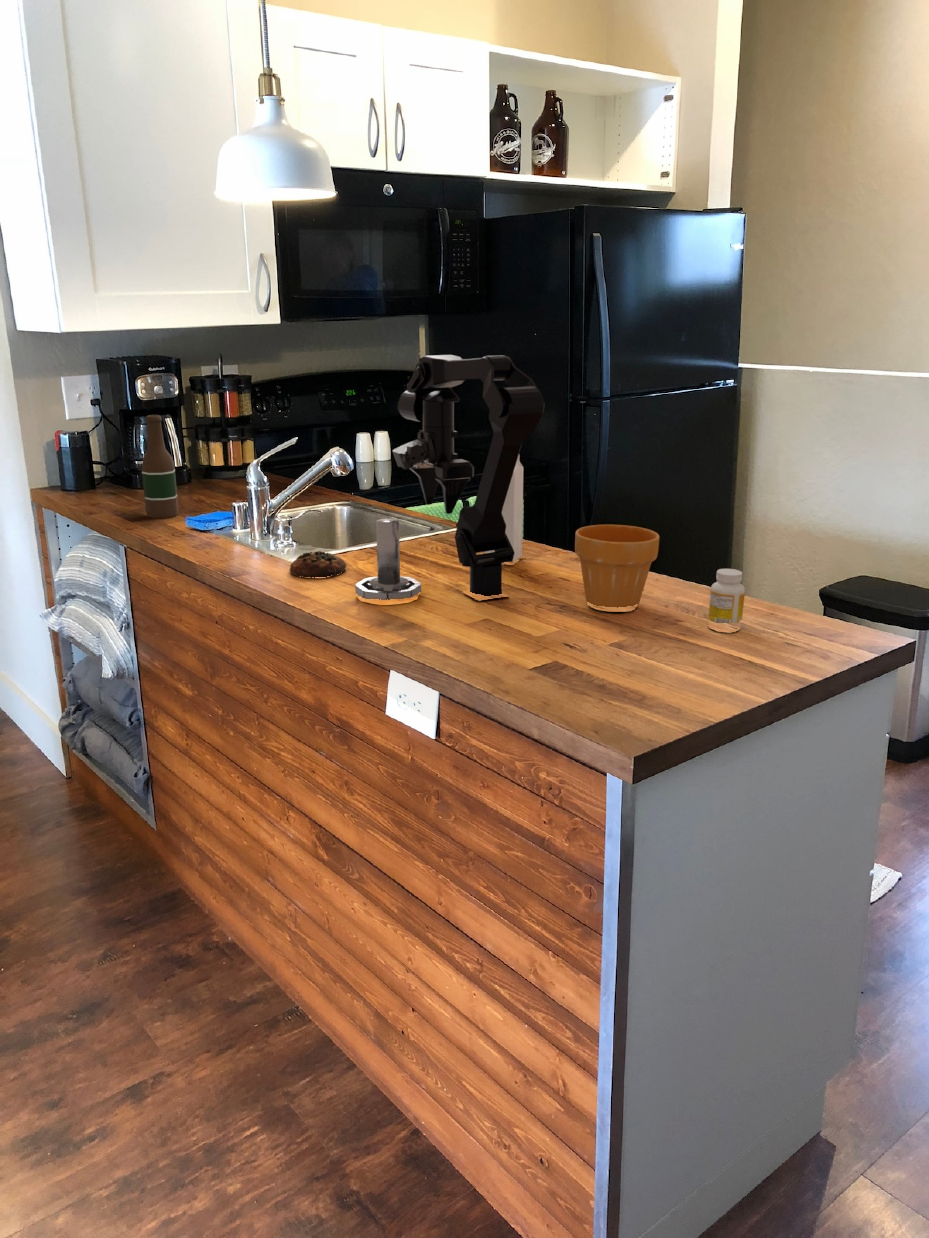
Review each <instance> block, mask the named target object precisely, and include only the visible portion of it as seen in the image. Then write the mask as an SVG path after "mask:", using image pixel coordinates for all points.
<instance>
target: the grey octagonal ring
mask: <svg viewBox="0 0 929 1238" xmlns="http://www.w3.org/2000/svg"><path fill="white" fill-rule="evenodd" d="M377 577H378V576H372V577H371V576H370V577H365V578H363V579H362V580H360V581H358V582H357V583H355V585H354V590H355V591H354V592H355V594H356V595H357V594H358V596H361V597H362V598H365V599H379V600H380V599H381V600H387V599H388V600H390V599H404V598H411V597H413V596H415V595H417V594H418V593H419V592H421V593H422V582H419V581H418V580H416V579H415V578H414V577H411V576H403V575H400V577H403V578H406V579H409V580H411V587H410V588H409V589H406V590H398V591H390V592H384V591H375V590H368V589H367V583H368V580H370V579H373V578H377Z"/></svg>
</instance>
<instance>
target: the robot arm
mask: <svg viewBox="0 0 929 1238" xmlns="http://www.w3.org/2000/svg"><path fill="white" fill-rule="evenodd" d="M479 380H480V381H481V382H482V384H483V386H482V387H483V390H482V398H483V400H484V402H485V404H486V406H487V407H488V409H489V411H488V420H489V422H490V425H491V428H492V432H493V435H492V438H491V442H490V446H489V449H488V453H487V458H486V461H485V465H484V469H483V471H482V476H481V479H480V482H479V487H478V490H477V494H476V497H475V501H474V503H473V505H470V506H463V507H462V508H461V509H460V511H459V513H458V514H459V515H458V519H457V522H456V524H455V527H456V531H455V535H454V540H455V545H456V552H457V557H458V558H457V559H458V562H459V564H461V566H463V567H468V568H469V589H470V592H472V593H475V594H481V595H484V596H491V595H499V594H502V591H503V590H502V588H503V587H502V584H503V583H502V581H503V579H502V577H503V574H502V573H503V565H502V563H504V562H512V561H513V557H514V550H513V548H512V546H511V544H510V541H509V539H508V537H507V535H506V533H505V531H506V523H505V521H504V518H503V515H502V509H503V506H504V502H505V499H506V496H507V492H508V489H509V486H510V482H511V479H512V475H513V472H514V469H515V465H516V462H517V459H518V455H519V456H520V451H521V448H522V445H523V443H524V441H525V440H526V439H527V438H528V437H529V436H530V435H531V434H532V433H534V431H535V430H536V428H537V427H538V425H539V422H540V420H541V419H542V416H543V413H544V410H545V398H544V396H543V395H542V393H541V391H540V389H539V388H538V386H537V385H536V383H535V382H534V380H533V379H532V377H530V376H528V375H527V374H526V373H525V372H523V371H522V370H521V369H519V368H518V367H517V366H516V365H515V363H514V362H513V360H512V359H511V357H509V356H507V355H485V356H483V357H475V358H462V357H461V356H458V355H453V354H439V355H438V354H437V355H435V354H434V355H422V356H420V358H419V359H418V362H417V364H416V365H415V368H414V370H413V373H412V376H411V378H410V380H409V381H408V383H407V384H406V390H405V391H404V392H402V393H401V395H400V396H399V399H398V401H397V409H398V412H399V414H400V416H401V417H403V418H404V419H406V420H409V421H410V420H411V421H414V422H418V423H419V422H420V423H422V429H419V430H418V431H419V432H417V439H415V440H412V441H409V442H407V443H404V444H402V445H400V446H398V447H396V448H394V449H392V453H393V457H394V459H395V462H396V465H397V467H398V468H402V469H403V470H410V471H411V472H412V473H414V474H415V475H416V476H417V477H418V480H419V481H418V482H419V483H420V488H421V492H422V493H423V498H424V502H425V504H426V505H427V506H428V505H433V503H434V499H435V496H436V492H437V488H438V484H439V485H440V486H441V488H442V495H443V506H444V511H445V513H446V514H447V515H451V514H453V513H454V510H455V507H456V505H457V503H458V501H459V500H460V496H461V495H462V493H463V491H464V489H465V487H466V485H468V482H470V481H471V478H475V477H474V476H475V466H474V465H473V463H471V462H470V461H468V460H465V459H462V458H460V459H459V454H458V453H455V440H454V439H455V438H459V431H456V430H455V403H458V402H460V398H459V396H458V394H456V392H454V390H453V387H457V386H459V385H461V384H463V383H464V382H465V381H479ZM494 381H495V382H496V381H504V383H505V384H506V385H507V386H508V387H499V388H498V387H497V385H496V384H495V382H494ZM493 550H494V551H495V552H492V553H486V554H485V552H486V551H493ZM479 553H481V554H479Z"/></svg>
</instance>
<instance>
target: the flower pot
mask: <svg viewBox="0 0 929 1238" xmlns="http://www.w3.org/2000/svg"><path fill="white" fill-rule="evenodd" d="M574 534H575V535H574V537H575V539H574V552H575V554H576V556H577V557H578V558H579V563H580V568H581V575H582V582H583V583H582V584H583V589H584V595H585V601H587V602H589V603H591V604H593V605H596V606H605V607H617V608H618V607H627V606H634V605H636V604H638V603H639V604H640V602H641V599H642V595H643V591H644V589H645V586H646V582H647V579H648V575H649V572H650V569H651V565H652V562H654V561H656V559H657V557H658V554H659V549H660V548H659V547H660V535H659V534H658V532H656V531H654V530H651V529H649V528H644V527H642V526H641V527H640V526H634V525H625V524H623V525H622V524H594V525H587V526H583V527H579V528H578V529H576V530H575V533H574ZM587 602H586V603H587Z"/></svg>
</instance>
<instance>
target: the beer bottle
mask: <svg viewBox="0 0 929 1238" xmlns="http://www.w3.org/2000/svg"><path fill="white" fill-rule="evenodd" d="M162 420H163V419H162V416H161V415H159V414H149V415H146V417H145V422H146V427H147V429H146V430H147V450H146V452H145V454H144V456H143V458H142V460H141V461H142V462H141V476H142V485H143V487H142V488H143V497H144V498H143V499H144V504H145V505H144V506H145V514H146V517H147V518H151V519H170V518H173V517H176V516H178V514H179V499H178V488H177V480H176V479H177V478H176V469H175V468H176V467H175V462H174V460H173V458H172V455H171V454H170V453H169V451H168V450H167V449H166V445H165V440H164V433H163V427H162Z"/></svg>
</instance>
